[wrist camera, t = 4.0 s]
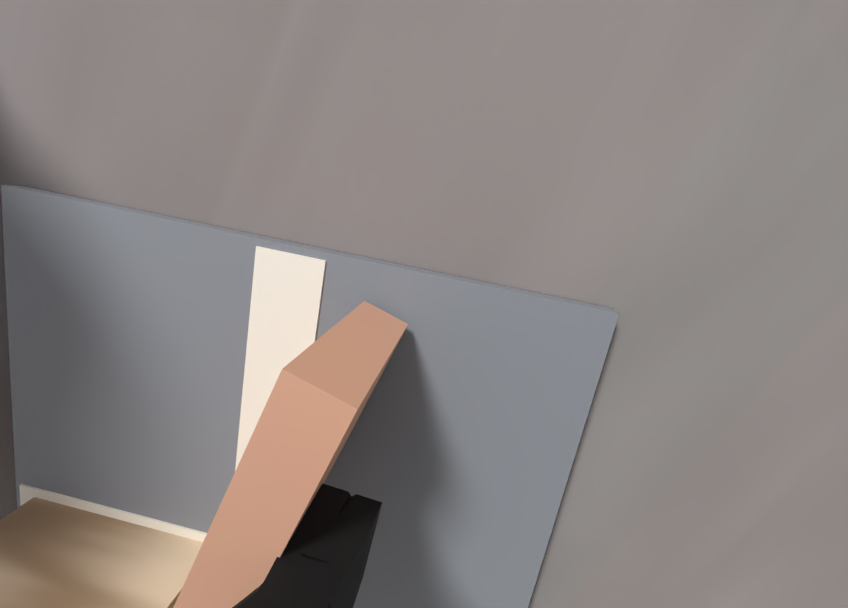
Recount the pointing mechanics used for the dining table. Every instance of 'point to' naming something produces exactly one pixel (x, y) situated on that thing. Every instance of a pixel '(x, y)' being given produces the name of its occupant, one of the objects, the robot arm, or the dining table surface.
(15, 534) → the fence fixed
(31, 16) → the dining table surface
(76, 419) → the card
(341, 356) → the tan flat block
